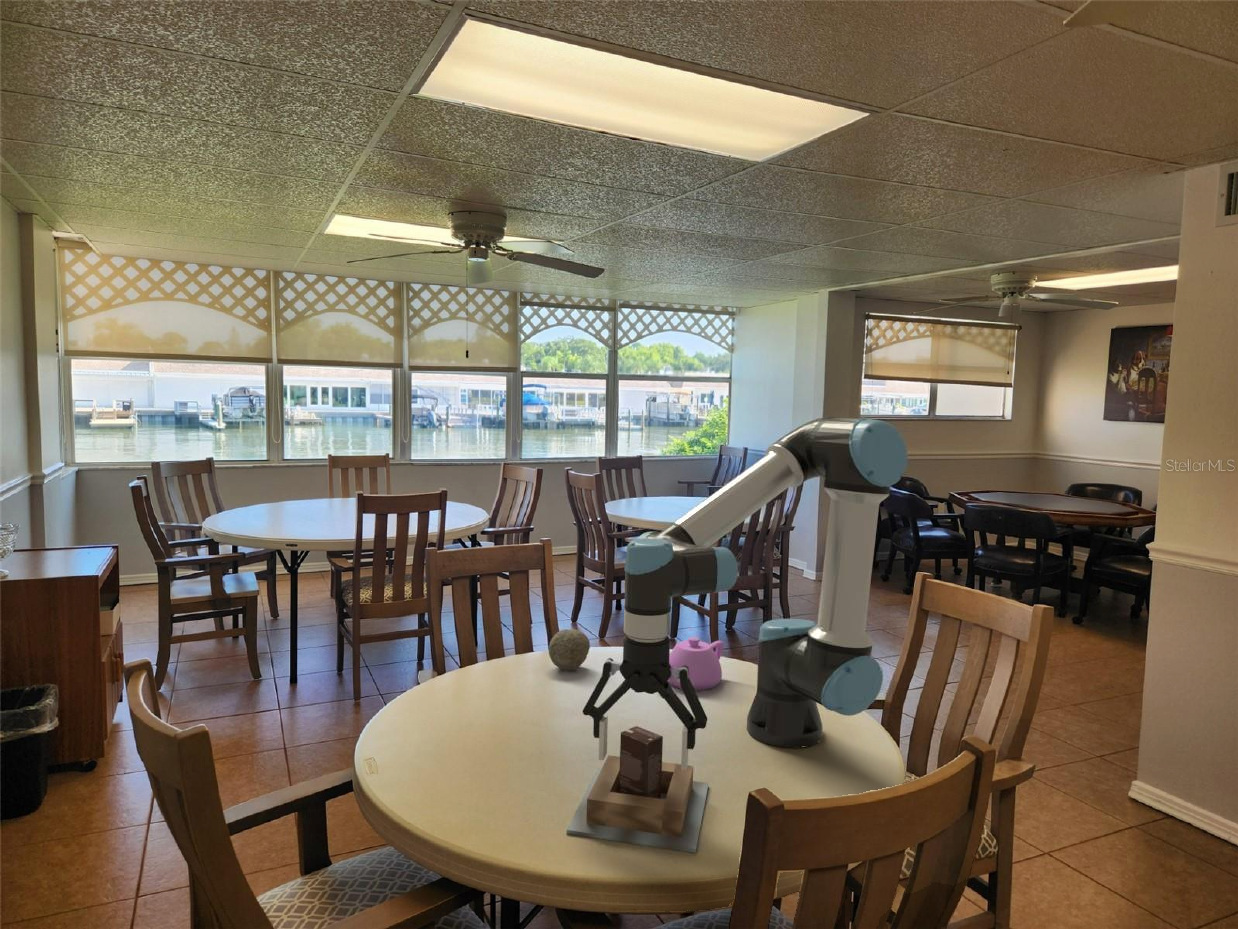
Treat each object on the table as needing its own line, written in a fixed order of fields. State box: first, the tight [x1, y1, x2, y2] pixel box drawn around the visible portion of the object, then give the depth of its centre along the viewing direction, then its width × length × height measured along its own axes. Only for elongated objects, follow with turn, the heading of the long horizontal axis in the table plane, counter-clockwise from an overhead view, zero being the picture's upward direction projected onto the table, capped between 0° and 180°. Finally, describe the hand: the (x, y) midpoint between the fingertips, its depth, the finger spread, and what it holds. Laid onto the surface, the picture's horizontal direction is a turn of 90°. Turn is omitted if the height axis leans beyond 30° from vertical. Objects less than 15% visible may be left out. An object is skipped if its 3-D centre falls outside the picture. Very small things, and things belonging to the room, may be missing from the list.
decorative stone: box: [548, 628, 591, 672], centre depth 186 cm, size 10×8×10 cm
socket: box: [566, 754, 709, 854], centre depth 124 cm, size 20×20×5 cm
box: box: [619, 725, 664, 799], centre depth 124 cm, size 6×4×12 cm
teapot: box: [668, 636, 724, 692], centre depth 180 cm, size 14×20×11 cm
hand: (643, 761), depth 124 cm, fingers open, 13 cm apart
